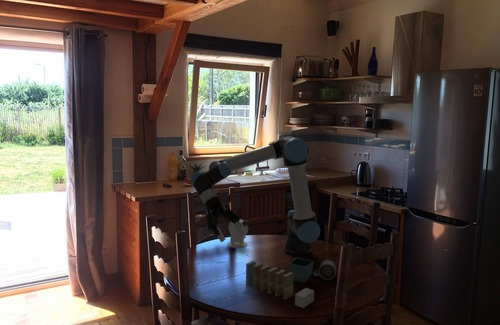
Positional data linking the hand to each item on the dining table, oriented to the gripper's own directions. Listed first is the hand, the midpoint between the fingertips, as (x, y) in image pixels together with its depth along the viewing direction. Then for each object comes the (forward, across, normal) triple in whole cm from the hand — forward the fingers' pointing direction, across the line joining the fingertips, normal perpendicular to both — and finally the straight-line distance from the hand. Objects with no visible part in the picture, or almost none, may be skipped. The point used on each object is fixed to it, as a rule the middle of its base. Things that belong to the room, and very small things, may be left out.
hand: (233, 237), depth 189 cm
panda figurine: (-6, -36, -32) cm, 49 cm away
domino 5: (+32, 0, +6) cm, 33 cm away
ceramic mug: (+36, -28, +11) cm, 47 cm away
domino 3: (+27, 0, +1) cm, 27 cm away
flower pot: (+32, -18, +6) cm, 37 cm away
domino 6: (+35, 0, +9) cm, 36 cm away
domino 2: (+24, 0, -2) cm, 24 cm away
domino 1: (+21, 0, -5) cm, 22 cm away
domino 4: (+30, 0, +4) cm, 30 cm away
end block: (+41, 0, +15) cm, 43 cm away
